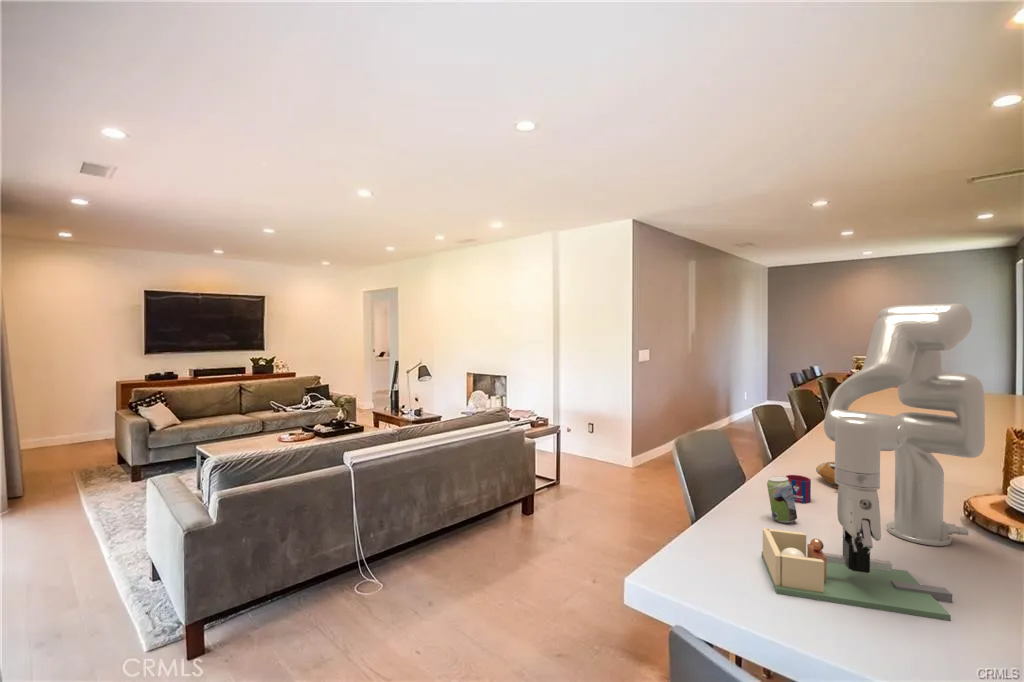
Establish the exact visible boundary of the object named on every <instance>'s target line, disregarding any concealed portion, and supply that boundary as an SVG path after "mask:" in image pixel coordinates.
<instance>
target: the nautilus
mask: <svg viewBox="0 0 1024 682" xmlns="http://www.w3.org/2000/svg"><path fill="white" fill-rule="evenodd" d="M815 470H816V473H817V474H818V475H820V477H821V478H822V479H823V480H824V481H825V482H827V483H828V484H830V485H831V484H832V485H833V484H835V485H837V486H835V487H833V489H836V488H837V489H836V490H835V492H838V487H839V485H838V484H837V483H835V461H829V462H824V463H820V464H818V466H816V468H815Z"/></svg>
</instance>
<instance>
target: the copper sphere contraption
mask: <svg viewBox="0 0 1024 682" xmlns="http://www.w3.org/2000/svg"><path fill="white" fill-rule="evenodd" d="M858 542H862V540H857V544H858ZM824 545H825V544H824V543H823V542H822V540H821V539H819V538H813V539H811V540H810V543H806V557H807V558H814V559H822V560H823V561H824V580H825V581H826V571H827V563H834V564H842V565H846V566H847V568H848V569H850V550H852V539H850V538H843V537H842V554H837V553H830V552H829V553H828V552H827V553H826V552H824V551H823V550H824ZM870 568H871V569H879V570H886V571H892V569H893V563H892V562H891V561H890V560H889V561H888V560H884V559H875V558H870Z"/></svg>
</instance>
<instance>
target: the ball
mask: <svg viewBox="0 0 1024 682" xmlns="http://www.w3.org/2000/svg"><path fill="white" fill-rule="evenodd" d="M781 554H784V555H792V556H799V557H805V555H804V554H803V553H802V552H801V551H800V550H798V549H796V548H786V549H784V550H783V551H782V552H781Z"/></svg>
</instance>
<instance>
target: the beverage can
mask: <svg viewBox="0 0 1024 682" xmlns="http://www.w3.org/2000/svg"><path fill="white" fill-rule="evenodd" d="M766 482H767V483H766V486H767V492H768V499H769V503H770V509H771V515H772V516H771V517H772V518H773V520H776V521H777V522H780V523H786V524H787V523H793V522H795V521H796V520H797V519H798V514H797V513H798V512H797V508H796V502H795V501H794V495H793V489H792V484H791V482H790V481H789V480H788V478H787V477H786V476H783V475H775V476H774V475H773V476H769V477H768V480H767V481H766Z"/></svg>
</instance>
